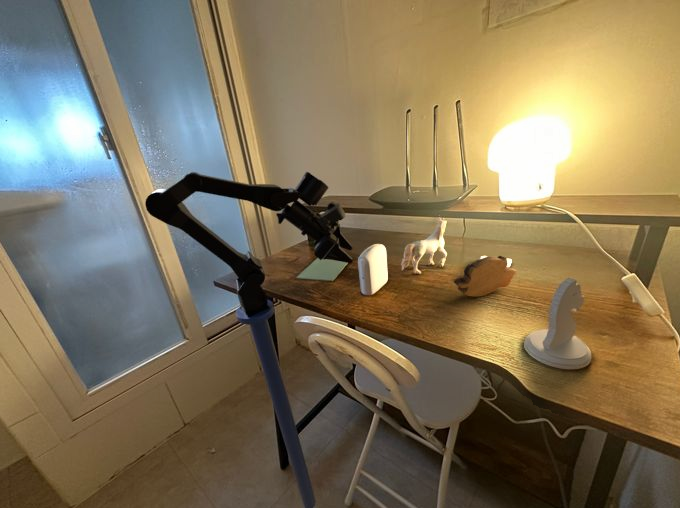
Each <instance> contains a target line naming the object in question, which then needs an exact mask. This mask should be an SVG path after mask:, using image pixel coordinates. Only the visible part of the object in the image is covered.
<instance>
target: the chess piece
mask: <svg viewBox="0 0 680 508" xmlns="http://www.w3.org/2000/svg"><path fill="white" fill-rule="evenodd" d="M584 300H585V295H583V294H582V287H581V285H580V284H579V283H578V281H577V279H574V278H571V277H567V278H565V279H564V280H563V281H562V282H561V283H560V284H559V285H558V287H557V288H556V290H555V291H554V294H553V296H552V300H551V301H550V305H549V309H548V328H542V329H537V330H535V331H532V332H530V333H529V334H528V335H526V337H525V339H524V341H523V346H524V350H525V351H526V352H527V354H528V355H529V356H531V358H533V359H534V360H536V361H538V362H540V363H542V364H544V365H546V366H549V367H552V368H557V369H561V370H579V369H584V368H585V367H587V366H588V365H589V364H590V363H591V361H592V352H591V349H590V348H589V347H588V345H587V344H586V343H585V342H584V341H583V340H582V339H580V338H579V337H578V336H576V335H575V334H576V332H577V329H578V324H577V321H576V319H575V317H574V315H573V313H572V311H574V312H580V308H582V307H583V305H584V302H585V301H584Z"/></svg>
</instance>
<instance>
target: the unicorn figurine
mask: <svg viewBox="0 0 680 508" xmlns="http://www.w3.org/2000/svg"><path fill="white" fill-rule="evenodd" d="M437 220H438V221H437V226H436V228H435V229H434V230H433V232H432V233H431V234H430V235H429V236H427V237H426V239H421V240H415V241H413V242H412V243H408V244H406V245H405V248H404V251H403V258H402V259H401V264H400V265H401V271H403V270H405V268H407V267H409V265H410V263H411V266H412V271H413V274H415V275H416V274H417V275H422V271H421V270H419V268H418V264H419V262H420V261H421V259H422V257H423V256H424V254H426V255H429V259H428V260H427V265H428V266H430V265H431V266H434V265H435V262H434V260H433V257H434V254H435V252H439V253H441V254H442V258H440V260H439V262H438V267H439V268H443V266H444V265H445V262H446V258H447V256H448V253H447V251H446V250H445V249H444V247H445V239H444V233H445V230H446V227H447V220H443V219H442V218H441V216H440V217H438V219H437Z"/></svg>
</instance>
